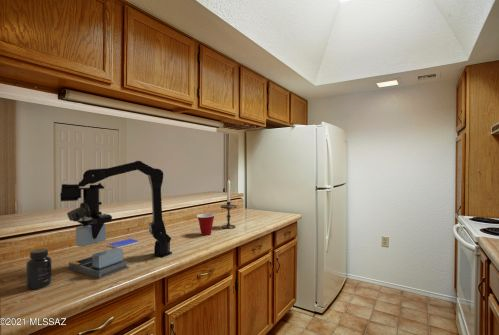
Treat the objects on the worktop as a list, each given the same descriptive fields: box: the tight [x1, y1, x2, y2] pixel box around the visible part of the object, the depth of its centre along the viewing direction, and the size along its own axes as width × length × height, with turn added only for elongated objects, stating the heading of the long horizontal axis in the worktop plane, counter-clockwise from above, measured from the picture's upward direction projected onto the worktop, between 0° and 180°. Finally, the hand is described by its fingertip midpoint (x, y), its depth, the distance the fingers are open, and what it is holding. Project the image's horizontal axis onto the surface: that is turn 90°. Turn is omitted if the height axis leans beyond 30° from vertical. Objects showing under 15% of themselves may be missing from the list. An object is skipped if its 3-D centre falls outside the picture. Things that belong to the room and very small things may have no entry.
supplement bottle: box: [25, 248, 52, 291], centre depth 92 cm, size 7×7×12 cm
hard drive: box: [106, 238, 139, 248], centre depth 141 cm, size 2×8×12 cm
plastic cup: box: [196, 212, 216, 236], centre depth 162 cm, size 11×11×12 cm
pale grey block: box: [75, 223, 107, 248], centre depth 111 cm, size 10×4×7 cm, turn 152°
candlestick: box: [219, 175, 238, 230], centre depth 180 cm, size 11×11×35 cm
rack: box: [67, 247, 130, 280], centre depth 108 cm, size 13×20×7 cm, turn 62°
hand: (91, 238), depth 111 cm, fingers closed on pale grey block, 4 cm apart
